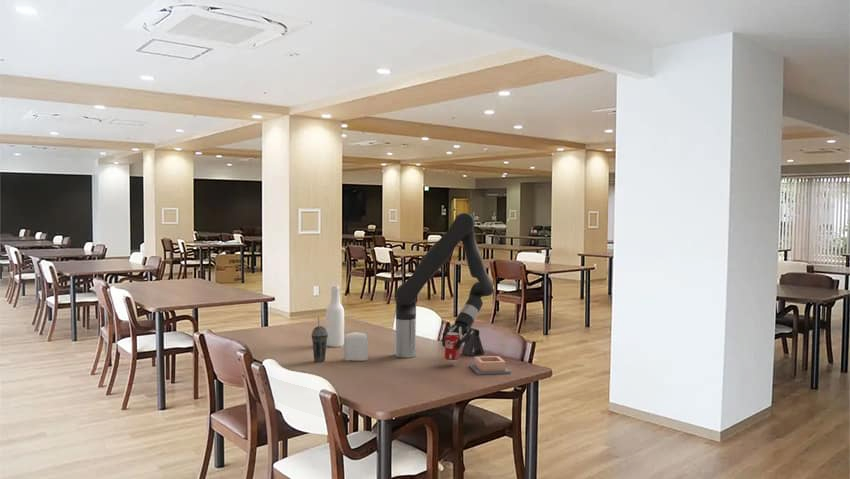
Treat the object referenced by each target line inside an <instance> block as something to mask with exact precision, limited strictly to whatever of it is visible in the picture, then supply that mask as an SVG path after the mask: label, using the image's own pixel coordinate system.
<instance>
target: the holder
mask: <svg viewBox="0 0 850 479" xmlns="http://www.w3.org/2000/svg"><path fill="white" fill-rule="evenodd" d="M506 362H507V361H505V360H504V359H503V358H502V357H501V356H499V355H490V356H489V355H488V356H487V355H486V356H483V355H482V356H474V363H469V367H470V368H471V370H473V371H474V373H475V374H476V375H479V376H480V375H504V374H505V375H507V374H508V375H509V374H510V375H511V374H512V372H511V370H510V369H509V368H507V366H506Z"/></svg>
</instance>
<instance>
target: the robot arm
mask: <svg viewBox="0 0 850 479" xmlns="http://www.w3.org/2000/svg"><path fill="white" fill-rule="evenodd" d="M474 226H475V219H474V217H473V215H472V214H470V213H468V212H461V213H459V214H457V215H456V217H455V219H454V221H453V222H452V224H451V225H450V226H449V228H448V229H447V231H446V232H445V233H444V235H442V236H441V237H440V238H439V239H438V240H437V241H436V242H435V243H434V244H433V245H432V246H431V247H430V248H429V250H428V251H427V252H426V253H425V255H423V257H422V259H421V260H420V262H419V263H418V265H417V266H416V268H415V270H414V272H413V273H412V274H411V275H410V276H409V278H408V279H407V280H406V281H405V282H404V283H401V284H400V285H399V286H398V287H397V289H396V291H395V333H394V356H395V357H396V358H408V359H409V358H414V357H415V356H416V351H417V350H416V349H417V348H416V342H417V341H416V340H417V339H416V337H417V335H416V334H417V333H416V332H417V330H416V329H417V327H416V326H417V297H418V295H419V293H420V292H421V290H423V288H424V286H425V285H426V284H427V283H428V282H429V281H430V280H431V279H432V278H433V277H434V276H435V274H437V273H438V272H439V270H441V268H442V267H443V266H444V264H445V263H446V262H447V260H449V258H450V256H451V255H452V253H453V252H454V250H455V248H456V247H457V245H458V244H459V243H460V242H461V243H462V246H463V250H464V254H465V258H466V263H467V266H468V270H469V273H470V276H471V277H472V278H474V279H477V281H478V282H475V283H473V285H472V286H471V287H470V292H469V296H468V299H467V301H466V302H465V304H464V305H463V307H462V308H461V309H460V312H459V313H458V315H457V317H456V318H455V320H454V324H453V325H449V324H447V325H446V327H445V328H444V331H443V333H442V336H443V338H444V339H443V341H442V342H441V344H442V347H443V348H445V336H446V335H447V333H449V332H455V333H458V335H459V340H458V342H457V343H456V345H455V348H456V350H458V349H459V348H460V349H461V347H462V345H463V344H465V342H466V343H467V342H468V341H469V339H470V338H471V336H472V335H473V333H474V332H473V330H472V329H470V328H472V326H473V325H474V323H475V321H476V319H477V317H478V315H479V312H480V311H481V308H482V307H483V304H484V303H483V300H482V298H483V297H488V296H489V297H490V296H491V295H492V294H493V293H494V289H495V287H494V284H493V281H492V279H491V278H490V276H489V274H488V273H487V271H486V268H485V264H484V261H483V257H482V254H481V251H480V249H479V247H478V243H477V240H476V237H475V231H474V230H475V229H474V228H475V227H474ZM466 338H467V339H466Z"/></svg>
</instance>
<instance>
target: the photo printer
mask: <svg viewBox="0 0 850 479" xmlns="http://www.w3.org/2000/svg"><path fill="white" fill-rule="evenodd" d="M368 351H369V350H368V336H367V334H366V333H363V332H355V331H354V332H349V333H346V334H344V360H345V361H346V362H347V361H350V360H351V361H353V362H354V361H361V362H362V361H363V362H364V361H368V357H369V356H368V353H369V352H368ZM351 361H350V362H351Z"/></svg>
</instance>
